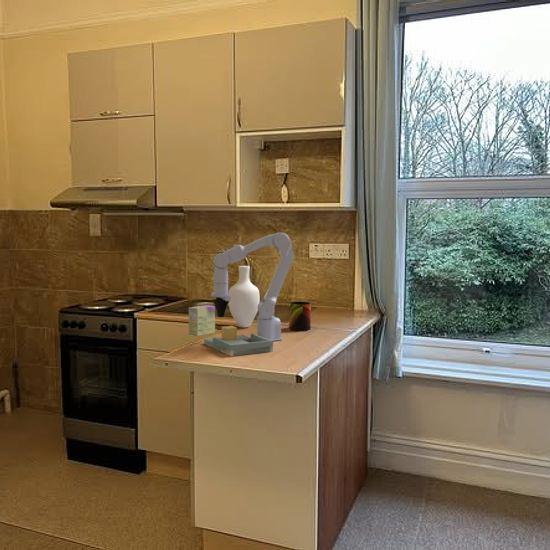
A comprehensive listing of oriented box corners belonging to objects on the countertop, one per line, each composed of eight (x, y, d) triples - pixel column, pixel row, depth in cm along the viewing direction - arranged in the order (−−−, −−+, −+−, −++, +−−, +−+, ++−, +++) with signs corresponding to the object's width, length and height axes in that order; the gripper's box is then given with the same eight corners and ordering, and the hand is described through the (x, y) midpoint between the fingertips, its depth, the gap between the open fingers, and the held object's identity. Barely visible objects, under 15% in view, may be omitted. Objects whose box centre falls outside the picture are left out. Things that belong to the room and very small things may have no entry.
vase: (229, 324, 261) (229, 265, 259) (259, 324, 261) (259, 265, 259) (227, 330, 247) (227, 267, 244) (259, 330, 247) (259, 267, 245)
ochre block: (231, 337, 220) (232, 325, 220) (236, 339, 216) (236, 327, 216) (221, 338, 218) (221, 326, 218) (226, 340, 214) (226, 328, 214)
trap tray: (243, 339, 225) (243, 329, 225) (272, 351, 204) (272, 340, 204) (204, 343, 217) (204, 333, 217) (230, 356, 196) (230, 345, 196)
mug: (305, 325, 259) (305, 300, 258) (312, 331, 245) (313, 304, 244) (285, 326, 257) (285, 300, 256) (291, 331, 244) (291, 304, 243)
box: (206, 331, 243) (206, 304, 242) (215, 333, 240) (215, 305, 239) (188, 334, 235) (188, 307, 234) (197, 336, 232) (197, 308, 231)
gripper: (204, 281, 226) (204, 314, 227) (219, 285, 214) (219, 320, 215) (220, 281, 230) (220, 313, 231) (235, 284, 217) (235, 318, 218)
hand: (220, 316), depth 223 cm, fingers closed
